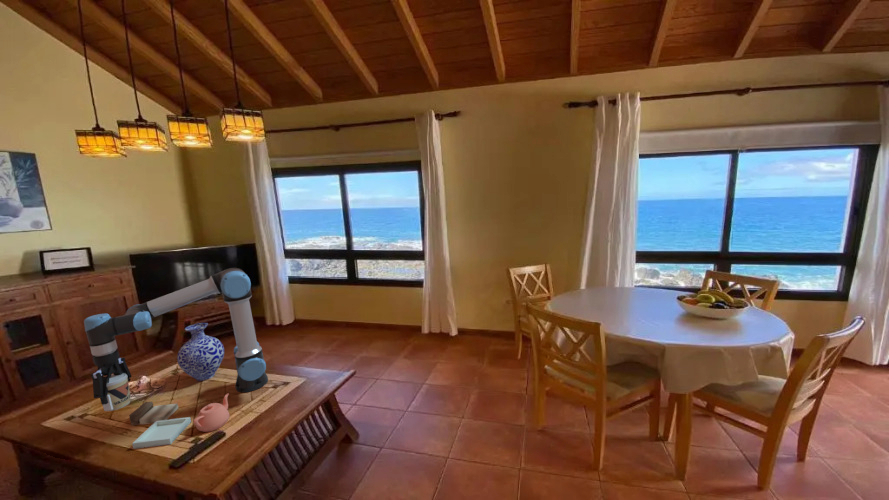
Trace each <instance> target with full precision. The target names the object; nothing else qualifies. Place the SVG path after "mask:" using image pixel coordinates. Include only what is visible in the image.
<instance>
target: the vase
mask: <svg viewBox="0 0 889 500" xmlns="http://www.w3.org/2000/svg"><path fill="white" fill-rule="evenodd" d="M208 325H209V323H208V322H199V323H195V324H191V325H188V326H185V328H184V330H185V331H186V332H188V333H189V332H190V335H191V338H190V339H189V340H188V341H185V343H184V344H183V345H182V346H181V347H180V349H178V353H177V364H178V366H179V368H180V369H181V370H182V372H184V373H186V374H187V375H188V376H190V377H191V378H193V379H195V380H196V381H199V382H203V381H206V380H209V379H211V378H213V377H214V376H216V375H215V374H216V372H217V371H218V369H219V367H220V366H221V363H222V362H223V361H224V360H223V359H224V357H225V347H224V344H223V343H222V342H221V340H219V339H218V338H216V337H214V336H210V335H206V334H205V329H206V328H207V327H208Z"/></svg>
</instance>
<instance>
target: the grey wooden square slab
mask: <svg viewBox="0 0 889 500" xmlns="http://www.w3.org/2000/svg"><path fill="white" fill-rule="evenodd" d="M178 409H179V405H178V403H171V404H170V403H169V404H161V405H160V404H159V405H153V408H152V409H151V410H150V411H148V412H147V413H146V414H145V415H144V416H143V417H141V418H140V419H139V421H140V424H139V425H149V424H154V423H155V422H156V421H161V420H169V418H170V417H172V415H173V414H175V412H176V411H177V410H178Z"/></svg>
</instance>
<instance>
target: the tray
mask: <svg viewBox="0 0 889 500" xmlns="http://www.w3.org/2000/svg"><path fill="white" fill-rule="evenodd" d="M190 423H192V420H191V417H190V416H188V417H179V418H171V419H169V418H168V419H167V420H161V421H156V422H155V423H151V425H150V426H149V427H148V428H147V429H146V430H145V431H144V432H143V433H141V434H140V435H139V436H138V437H137V438H136V439H135V440H134V441H133V442H132V443H131V445H132V448H133V449H134V450H135V449H137V450H138V449H143V448H144V447H145V448H150V447H152V448H153V447H159V446H165V445H172V443H174V441H175V440H177V438H178V437H179V436H180V435H181V434H182V433H183V431H185V430H186V429H187V427H188V426H189V425H190ZM133 449H132V450H133Z"/></svg>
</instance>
